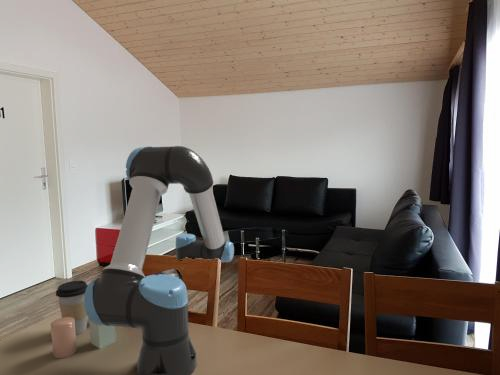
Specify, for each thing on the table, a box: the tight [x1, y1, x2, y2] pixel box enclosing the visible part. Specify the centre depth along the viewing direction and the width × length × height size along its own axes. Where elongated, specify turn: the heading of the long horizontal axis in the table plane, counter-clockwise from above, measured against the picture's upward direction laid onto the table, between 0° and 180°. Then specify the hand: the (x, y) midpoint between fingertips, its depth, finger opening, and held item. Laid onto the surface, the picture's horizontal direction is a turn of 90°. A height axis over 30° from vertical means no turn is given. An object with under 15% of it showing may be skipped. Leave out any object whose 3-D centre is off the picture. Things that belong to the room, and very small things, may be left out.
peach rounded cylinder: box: [50, 317, 78, 359], centre depth 105 cm, size 6×6×9 cm
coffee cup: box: [55, 280, 89, 336], centre depth 117 cm, size 9×9×15 cm
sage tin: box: [87, 317, 117, 350], centre depth 110 cm, size 5×5×8 cm
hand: (98, 301), depth 122 cm, fingers closed
